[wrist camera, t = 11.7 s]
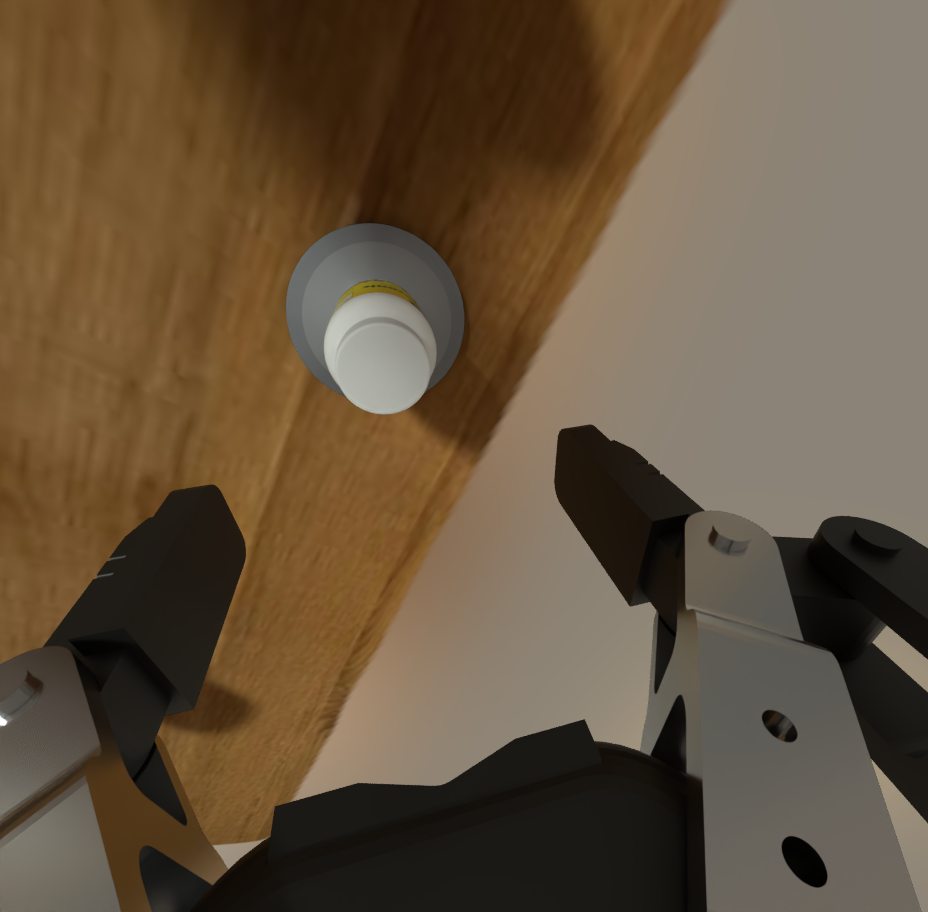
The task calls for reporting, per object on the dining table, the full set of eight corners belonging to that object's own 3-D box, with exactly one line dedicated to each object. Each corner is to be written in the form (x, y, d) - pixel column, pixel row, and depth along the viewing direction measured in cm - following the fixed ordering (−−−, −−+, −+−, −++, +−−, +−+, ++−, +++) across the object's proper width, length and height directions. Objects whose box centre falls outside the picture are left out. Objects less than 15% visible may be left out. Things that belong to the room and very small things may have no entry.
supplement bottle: (438, 314, 25) (472, 358, 17) (391, 380, 27) (401, 451, 18) (364, 256, 23) (361, 274, 14) (317, 333, 24) (290, 390, 16)
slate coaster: (263, 230, 22) (259, 230, 21) (456, 216, 23) (459, 216, 23) (314, 409, 28) (313, 415, 27) (466, 389, 29) (469, 393, 28)
